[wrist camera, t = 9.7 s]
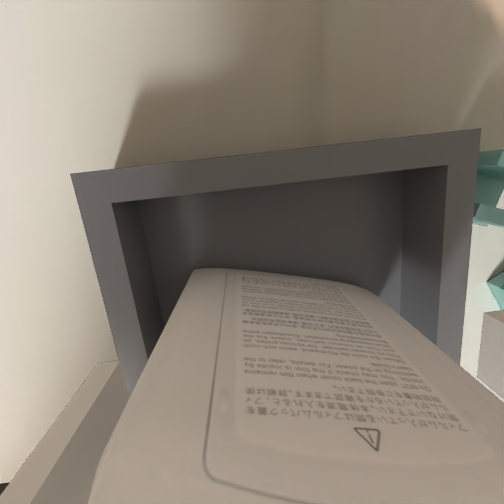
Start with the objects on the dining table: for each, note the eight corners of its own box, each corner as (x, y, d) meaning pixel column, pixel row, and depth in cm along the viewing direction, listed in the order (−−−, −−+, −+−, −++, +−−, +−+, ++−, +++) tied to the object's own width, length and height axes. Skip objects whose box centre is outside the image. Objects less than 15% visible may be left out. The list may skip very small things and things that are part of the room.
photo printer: (177, 333, 15) (-18, 855, 4) (183, 257, 14) (-60, 634, 3) (357, 350, 16) (687, 808, 4) (376, 280, 15) (866, 632, 3)
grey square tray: (169, 429, 18) (153, 491, 14) (111, 174, 14) (70, 173, 10) (410, 396, 18) (452, 447, 15) (420, 140, 14) (480, 128, 11)
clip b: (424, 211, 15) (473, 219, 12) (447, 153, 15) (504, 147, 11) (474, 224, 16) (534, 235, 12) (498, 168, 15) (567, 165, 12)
